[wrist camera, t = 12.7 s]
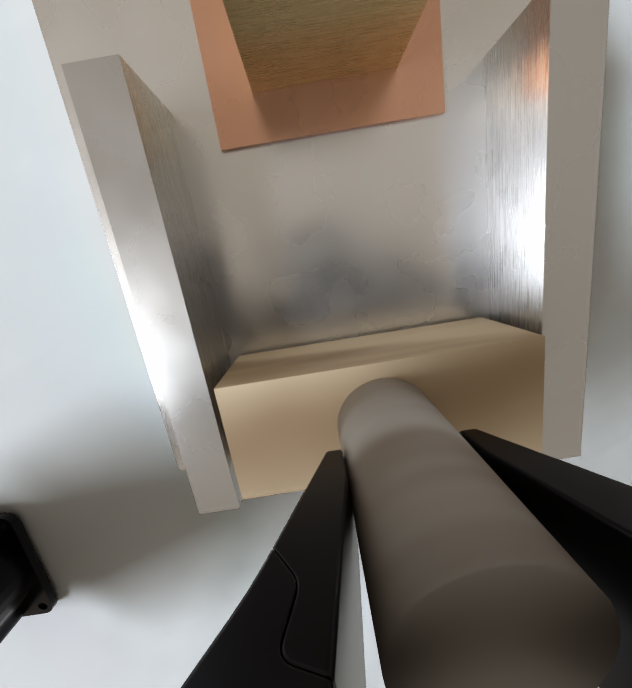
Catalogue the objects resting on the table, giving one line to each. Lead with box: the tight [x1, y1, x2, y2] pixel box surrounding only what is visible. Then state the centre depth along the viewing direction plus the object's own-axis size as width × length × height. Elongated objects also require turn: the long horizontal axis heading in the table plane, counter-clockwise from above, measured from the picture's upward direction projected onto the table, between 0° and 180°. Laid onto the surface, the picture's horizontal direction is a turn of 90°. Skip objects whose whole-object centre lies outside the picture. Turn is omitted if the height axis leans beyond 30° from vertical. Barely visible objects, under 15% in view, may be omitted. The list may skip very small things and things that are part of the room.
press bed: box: [32, 0, 609, 514], centre depth 10 cm, size 26×18×4 cm
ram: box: [214, 317, 621, 688], centre depth 8 cm, size 4×10×10 cm, turn 99°
